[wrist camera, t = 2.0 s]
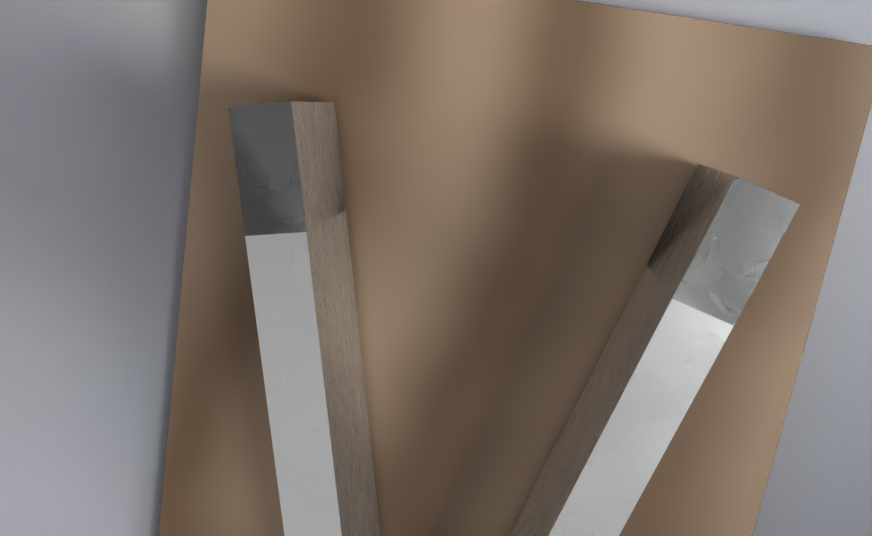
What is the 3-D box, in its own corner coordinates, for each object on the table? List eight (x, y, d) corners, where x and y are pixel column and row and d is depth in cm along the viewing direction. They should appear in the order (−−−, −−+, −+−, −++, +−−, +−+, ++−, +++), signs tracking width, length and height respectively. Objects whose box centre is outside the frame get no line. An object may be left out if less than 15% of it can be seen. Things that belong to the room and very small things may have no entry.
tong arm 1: (479, 699, 25) (469, 808, 21) (436, 679, 25) (418, 784, 21) (750, 186, 21) (799, 204, 17) (698, 163, 21) (736, 175, 17)
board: (870, 50, 21) (952, 36, 17) (657, 834, 27) (679, 966, 23) (226, -48, 22) (158, -82, 18) (153, 714, 28) (89, 817, 24)
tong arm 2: (394, 669, 25) (369, 773, 21) (348, 669, 25) (315, 771, 21) (334, 102, 22) (290, 101, 18) (282, 107, 22) (228, 107, 18)
